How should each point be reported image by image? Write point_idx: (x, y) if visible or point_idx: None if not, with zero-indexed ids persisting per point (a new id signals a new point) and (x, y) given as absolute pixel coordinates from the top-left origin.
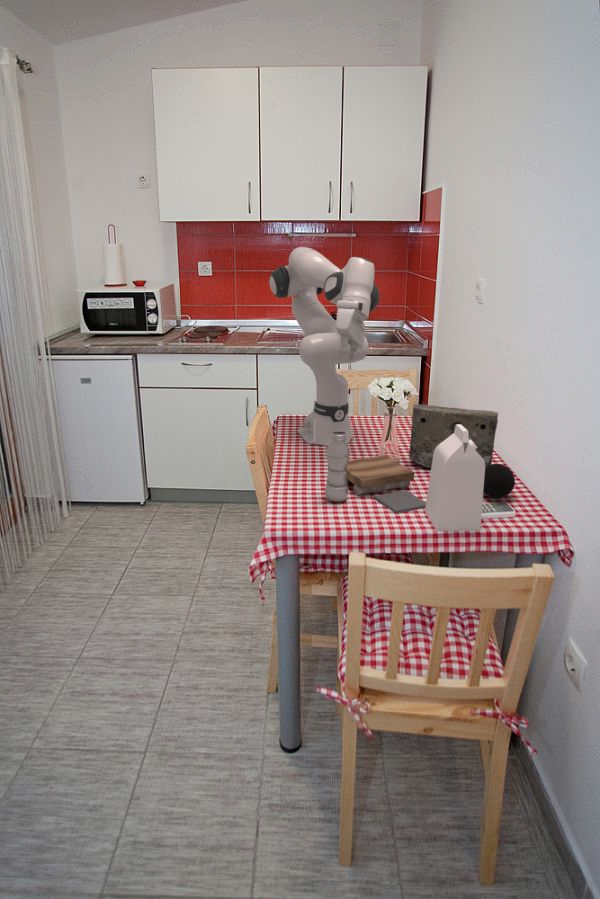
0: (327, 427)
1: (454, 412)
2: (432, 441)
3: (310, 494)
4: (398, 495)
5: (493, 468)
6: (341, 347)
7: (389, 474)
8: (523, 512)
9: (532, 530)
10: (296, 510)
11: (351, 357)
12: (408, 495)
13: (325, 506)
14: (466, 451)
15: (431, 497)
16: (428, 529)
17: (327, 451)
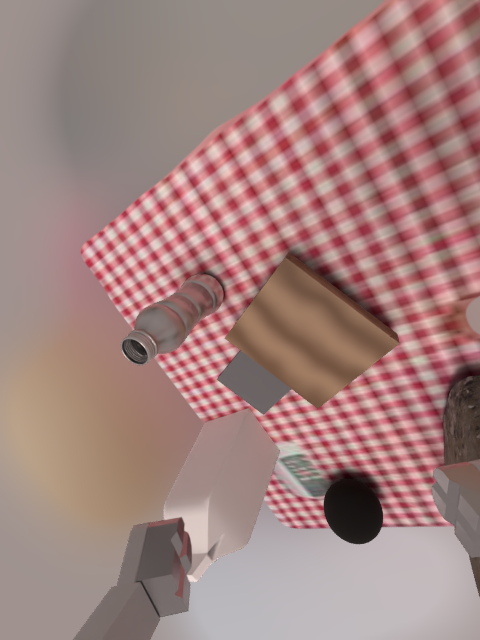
0: None
1: None
2: (461, 456)
3: (201, 239)
4: (271, 374)
5: (338, 527)
6: (125, 562)
7: (280, 373)
8: (314, 505)
9: (267, 503)
10: (139, 249)
11: (442, 496)
12: (279, 387)
13: (178, 283)
14: None
15: (222, 436)
16: (202, 414)
17: (139, 313)
